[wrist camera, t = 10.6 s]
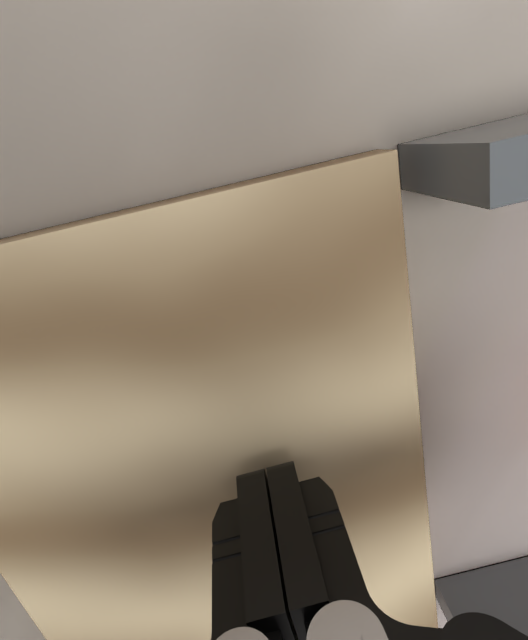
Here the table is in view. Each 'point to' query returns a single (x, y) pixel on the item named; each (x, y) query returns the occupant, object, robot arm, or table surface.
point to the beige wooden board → (207, 394)
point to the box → (486, 192)
